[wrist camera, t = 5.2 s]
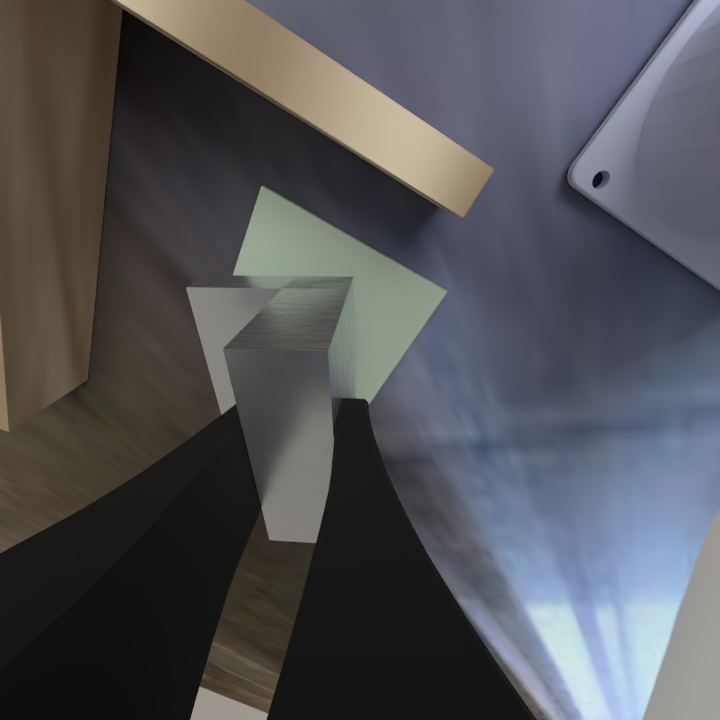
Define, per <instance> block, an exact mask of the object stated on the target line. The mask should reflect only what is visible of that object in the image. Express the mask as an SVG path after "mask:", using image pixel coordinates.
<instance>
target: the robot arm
mask: <svg viewBox="0 0 720 720" xmlns="http://www.w3.org/2000/svg"><path fill="white" fill-rule="evenodd" d="M598 172H601V173H602V175H603V179H602V181H601V183H600V185H599V186H597V187H596V188H594V187H593V185H592V180H593V178H594V176H595V175H596V174H597V173H598ZM567 179H568V183H569V184H570V185H571V187H573V188H574V189H575V190H577V191H578V192H580V193H581V194H583V195H584V196H585V197H587V198H588V199H590V200H591V201H593V202H594V203H595V204H597V205H598V206H600V207H601V208H603V209H604V210H605V211H607V212H608V213H610V214H611V215H613V216H614V217H615V218H617V219H618V220H620V221H621V222H622V223H624V224H625V225H627V226H628V227H630V228H631V229H632V230H634V231H635V232H637V233H638V234H640V235H641V236H642V237H644V238H645V239H647V240H648V241H650V242H651V243H652V244H654V245H655V246H657V247H658V248H660V249H661V250H662V251H664V252H665V253H667V254H668V255H670V256H671V257H672V258H674V259H675V260H677V261H678V262H680V263H681V264H682V265H684V266H685V267H687V268H688V269H690V270H691V271H692V272H694V273H695V274H697V275H698V276H700V277H701V278H702V279H704V280H705V281H707V282H708V283H709V284H711V285H712V286H714V287H715V288H717V289H718V290H719V291H720V0H694V1H693V2H692V4H691V5H690V6H689V8H688V9H687V10H686V12H685V13H684V14H683V16H682V17H681V18H680V20H679V21H678V22H677V24H676V25H675V26H674V28H673V29H672V30H671V32H670V33H669V34H668V36H667V37H666V38H665V40H664V41H663V42H662V44H661V45H660V46H659V48H658V49H657V50H656V52H655V53H654V54H653V56H652V57H651V58H650V60H649V61H648V62H647V64H646V65H645V67H644V68H643V69H642V71H641V72H640V73H639V75H638V76H637V77H636V79H635V80H634V81H633V83H632V84H631V85H630V87H629V88H628V89H627V91H626V92H625V93H624V95H623V96H622V97H621V99H620V100H619V101H618V103H617V104H616V105H615V107H614V108H613V109H612V111H611V112H610V113H609V115H608V116H607V117H606V119H605V120H604V121H603V123H602V124H601V125H600V127H599V128H598V129H597V131H596V132H595V133H594V135H593V136H592V137H591V139H590V140H589V142H588V143H587V144H586V146H585V147H584V148H583V150H582V151H581V152H580V154H579V155H578V156H577V158H576V159H575V160H574V162H573V163H572V165H571V166H570V168H569V170H568V175H567ZM368 407H369V402H368V401H366V400H365V399H359V398H343V399H342V402H341V404H340V407H339V411H338V414H337V417H336V426H335V436H334V447H333V457H332V468H331V477H330V483H329V490H328V495H327V499H326V503H325V508H324V512H323V516H322V520H321V525H320V529H319V533H318V537H317V541H316V545H315V549H314V553H313V557H312V560H311V564H310V568H309V572H308V576H307V580H306V584H305V587H304V591H303V595H302V598H301V602H300V606H299V609H298V613H297V616H296V620H295V624H294V627H293V631H292V635H291V638H290V642H289V645H288V649H287V653H286V656H285V660H284V663H283V666H282V670H281V673H280V677H279V680H278V683H277V687H276V690H275V693H274V697H273V700H272V703H271V707H270V710H269V714H268V717H267V720H537V719H536V718H535V717H534V715H533V714H532V713H531V711H530V710H529V708H528V707H527V705H526V704H525V703H524V701H523V700H522V698H521V697H520V695H519V694H518V693H517V691H516V690H515V688H514V687H513V685H512V684H511V683H510V681H509V680H508V678H507V677H506V675H505V674H504V673H503V671H502V670H501V668H500V667H499V665H498V664H497V662H496V661H495V659H494V658H493V656H492V655H491V653H490V652H489V650H488V649H487V647H486V646H485V644H484V643H483V641H482V640H481V638H480V637H479V635H478V634H477V632H476V631H475V629H474V628H473V626H472V625H471V623H470V622H469V620H468V619H467V617H466V616H465V614H464V613H463V611H462V609H461V608H460V606H459V604H458V603H457V601H456V600H455V598H454V596H453V595H452V593H451V591H450V590H449V588H448V587H447V585H446V583H445V582H444V580H443V578H442V577H441V575H440V574H439V572H438V570H437V569H436V567H435V566H434V564H433V562H432V561H431V559H430V557H429V555H428V554H427V552H426V550H425V548H424V546H423V545H422V543H421V541H420V539H419V537H418V536H417V534H416V532H415V530H414V528H413V526H412V524H411V522H410V520H409V518H408V516H407V515H406V513H405V511H404V509H403V507H402V504H401V502H400V500H399V498H398V496H397V494H396V492H395V489H394V487H393V485H392V483H391V480H390V478H389V476H388V473H387V471H386V468H385V466H384V463H383V461H382V458H381V455H380V452H379V449H378V446H377V443H376V440H375V437H374V434H373V430H372V426H371V422H370V417H369V409H368ZM260 510H261V503H260V499H259V495H258V491H257V487H256V483H255V479H254V475H253V471H252V467H251V462H250V458H249V454H248V450H247V446H246V442H245V438H244V434H243V430H242V426H241V422H240V418H239V413H238V409H237V405H236V404H235V405H234V406H232V407H231V408H230V409H229V410H227V411H226V412H225V413H223V414H222V415H221V416H219V417H218V418H217V419H215V420H214V421H213V422H211V423H210V424H209V425H207V426H206V427H205V428H203V429H202V430H201V431H199V432H198V433H197V434H195V435H194V436H193V437H191V438H190V439H189V440H187V441H186V442H185V443H183V444H182V445H180V446H179V447H177V448H176V449H175V450H173V451H172V452H170V453H169V454H167V455H166V456H164V457H163V458H162V459H160V460H159V461H157V462H156V463H154V464H153V465H151V466H150V467H149V468H147V469H146V470H144V471H143V472H141V473H140V474H138V475H137V476H135V477H134V478H132V479H131V480H129V481H127V482H126V483H124V484H123V485H121V486H119V487H118V488H116V489H115V490H113V491H111V492H110V493H108V494H106V495H105V496H103V497H101V498H100V499H98V500H96V501H95V502H93V503H91V504H90V505H88V506H86V507H85V508H83V509H81V510H79V511H78V512H76V513H74V514H72V515H71V516H69V517H67V518H65V519H63V520H61V521H60V522H58V523H56V524H54V525H52V526H50V527H48V528H47V529H45V530H43V531H41V532H39V533H37V534H35V535H34V536H32V537H30V538H28V539H26V540H24V541H22V542H21V543H19V544H17V545H15V546H13V547H11V548H9V549H8V550H6V551H4V552H2V553H0V720H190V718H191V714H192V711H193V707H194V703H195V700H196V696H197V693H198V689H199V686H200V682H201V679H202V675H203V672H204V669H205V665H206V662H207V658H208V655H209V652H210V648H211V645H212V641H213V638H214V635H215V632H216V628H217V625H218V622H219V619H220V616H221V612H222V609H223V606H224V603H225V600H226V596H227V593H228V590H229V587H230V584H231V582H232V579H233V576H234V574H235V571H236V568H237V566H238V563H239V561H240V558H241V556H242V554H243V551H244V549H245V546H246V544H247V541H248V539H249V536H250V534H251V532H252V529H253V527H254V524H255V522H256V519H257V517H258V515H259V512H260Z"/></svg>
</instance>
